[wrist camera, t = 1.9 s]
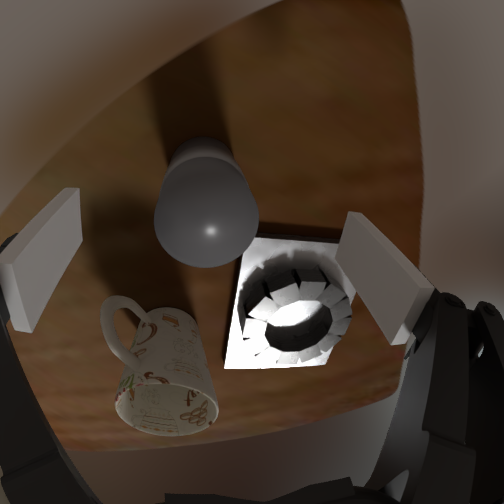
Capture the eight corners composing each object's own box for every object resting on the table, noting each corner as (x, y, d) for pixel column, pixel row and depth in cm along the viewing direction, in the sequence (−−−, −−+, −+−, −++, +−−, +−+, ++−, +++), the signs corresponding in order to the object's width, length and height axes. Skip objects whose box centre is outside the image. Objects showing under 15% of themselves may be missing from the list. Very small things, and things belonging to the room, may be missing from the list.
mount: (223, 361, 34) (226, 382, 32) (244, 231, 27) (249, 249, 24) (322, 358, 37) (330, 377, 34) (367, 241, 29) (382, 257, 27)
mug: (164, 366, 33) (163, 443, 25) (82, 293, 27) (52, 373, 19) (225, 335, 32) (238, 417, 24) (145, 248, 26) (127, 329, 18)
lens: (166, 197, 24) (152, 265, 16) (172, 133, 22) (155, 166, 13) (230, 202, 25) (250, 270, 17) (240, 139, 23) (268, 176, 14)
